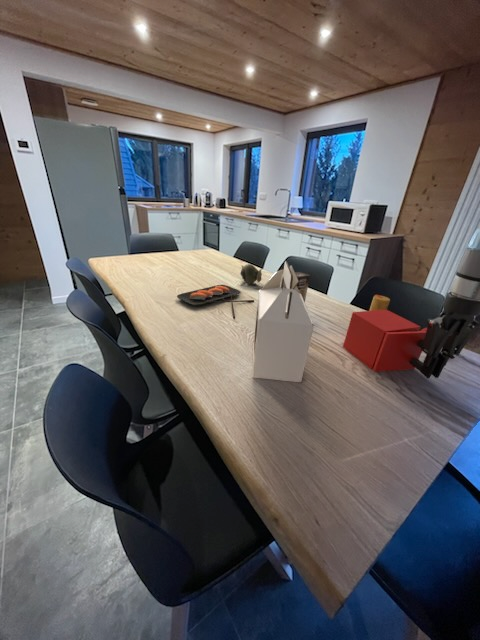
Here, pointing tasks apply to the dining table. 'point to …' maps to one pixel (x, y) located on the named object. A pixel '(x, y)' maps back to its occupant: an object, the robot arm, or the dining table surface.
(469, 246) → the robot arm
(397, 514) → the dining table surface
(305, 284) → the coffee box
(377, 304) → the yellow orange cylinder
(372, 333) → the valve cabinet
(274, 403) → the dining table surface
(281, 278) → the gable box
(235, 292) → the sushi plate
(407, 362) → the red drawer
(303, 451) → the dining table surface
